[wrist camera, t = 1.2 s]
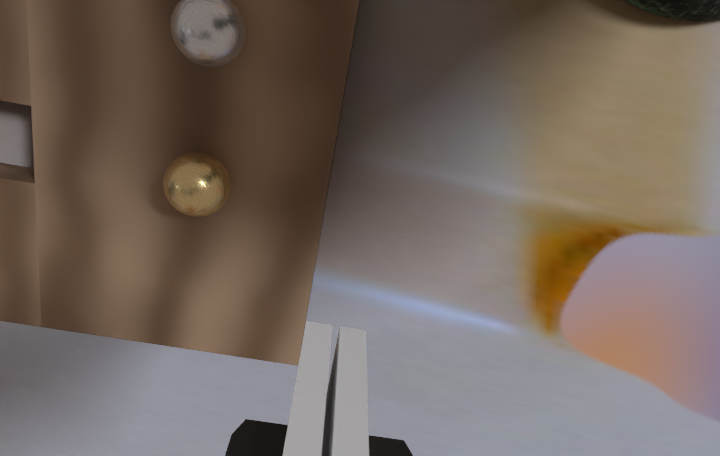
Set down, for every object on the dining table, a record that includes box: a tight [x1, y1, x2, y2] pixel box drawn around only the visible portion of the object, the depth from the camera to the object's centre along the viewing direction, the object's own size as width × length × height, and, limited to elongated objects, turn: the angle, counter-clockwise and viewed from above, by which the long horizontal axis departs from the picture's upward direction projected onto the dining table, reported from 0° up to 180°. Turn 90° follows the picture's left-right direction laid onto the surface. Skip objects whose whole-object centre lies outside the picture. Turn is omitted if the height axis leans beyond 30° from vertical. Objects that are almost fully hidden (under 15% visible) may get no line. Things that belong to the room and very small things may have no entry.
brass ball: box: [163, 152, 231, 217], centre depth 28 cm, size 4×4×4 cm
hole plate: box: [0, 0, 360, 365], centre depth 30 cm, size 26×24×2 cm
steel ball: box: [171, 0, 245, 67], centre depth 25 cm, size 4×4×4 cm
